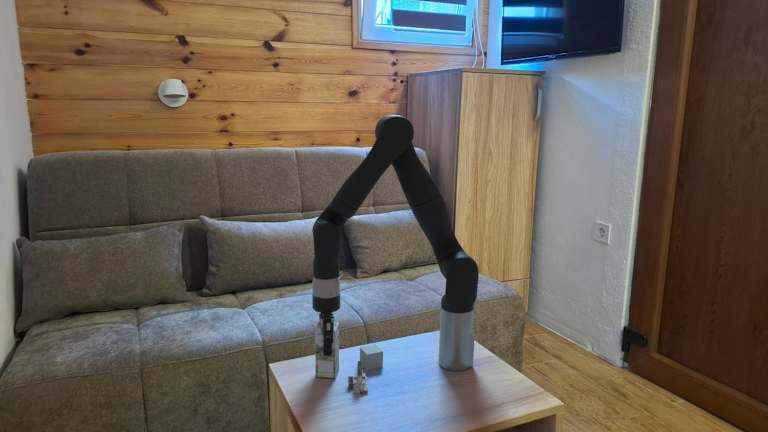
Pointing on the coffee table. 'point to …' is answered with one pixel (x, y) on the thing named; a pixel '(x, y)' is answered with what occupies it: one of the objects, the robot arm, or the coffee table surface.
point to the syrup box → (327, 364)
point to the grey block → (371, 357)
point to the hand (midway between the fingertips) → (326, 349)
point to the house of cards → (358, 380)
